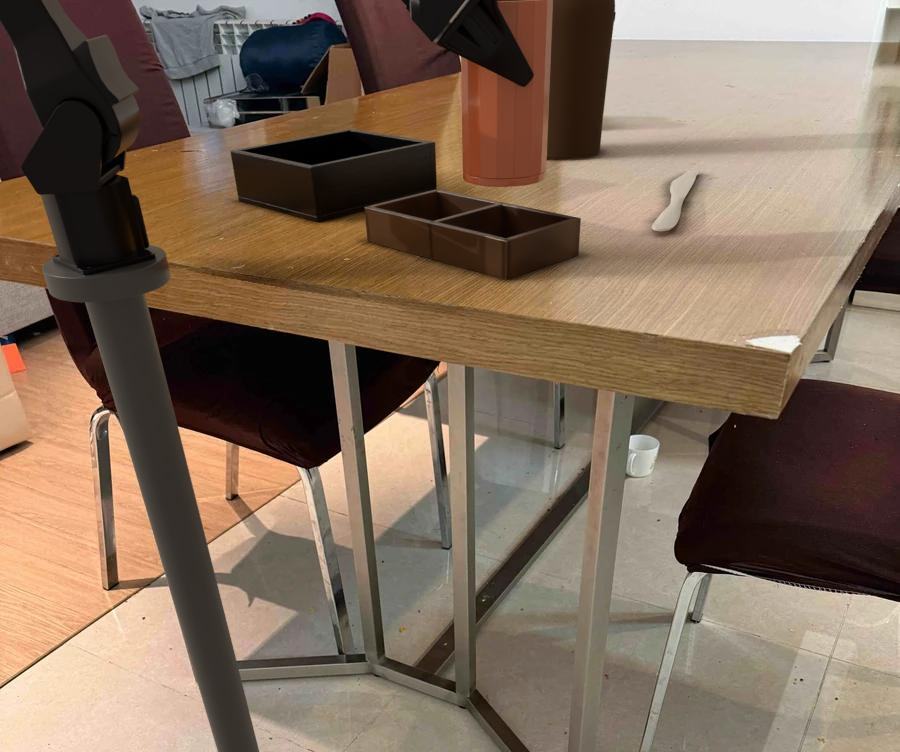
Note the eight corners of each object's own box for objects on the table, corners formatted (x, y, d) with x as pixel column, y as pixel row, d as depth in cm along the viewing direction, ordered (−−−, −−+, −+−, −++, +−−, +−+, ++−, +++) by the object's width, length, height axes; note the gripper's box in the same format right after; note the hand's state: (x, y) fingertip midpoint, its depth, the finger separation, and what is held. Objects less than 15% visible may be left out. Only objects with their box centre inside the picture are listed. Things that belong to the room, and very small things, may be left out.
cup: (505, 191, 65) (508, 2, 58) (446, 179, 69) (441, 1, 62) (562, 176, 69) (571, -3, 62) (502, 166, 73) (504, -4, 66)
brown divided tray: (506, 280, 68) (506, 241, 66) (367, 241, 78) (363, 206, 76) (578, 254, 73) (581, 217, 71) (438, 221, 83) (437, 188, 81)
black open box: (317, 222, 85) (310, 167, 81) (238, 201, 93) (229, 150, 90) (437, 192, 93) (435, 141, 90) (355, 175, 102) (351, 128, 99)
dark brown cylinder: (558, 164, 103) (569, -100, 88) (506, 152, 110) (508, -94, 95) (621, 152, 108) (643, -101, 93) (567, 142, 115) (579, -95, 100)
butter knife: (640, 226, 77) (673, 225, 76) (678, 169, 97) (705, 169, 96) (640, 232, 77) (673, 232, 76) (678, 175, 97) (705, 174, 96)
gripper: (458, -251, 47) (632, -14, 54) (440, -202, 62) (578, -21, 69) (334, -67, 52) (509, 129, 59) (344, -63, 66) (483, 94, 74)
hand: (523, 76), depth 65 cm, fingers closed on cup, 7 cm apart
